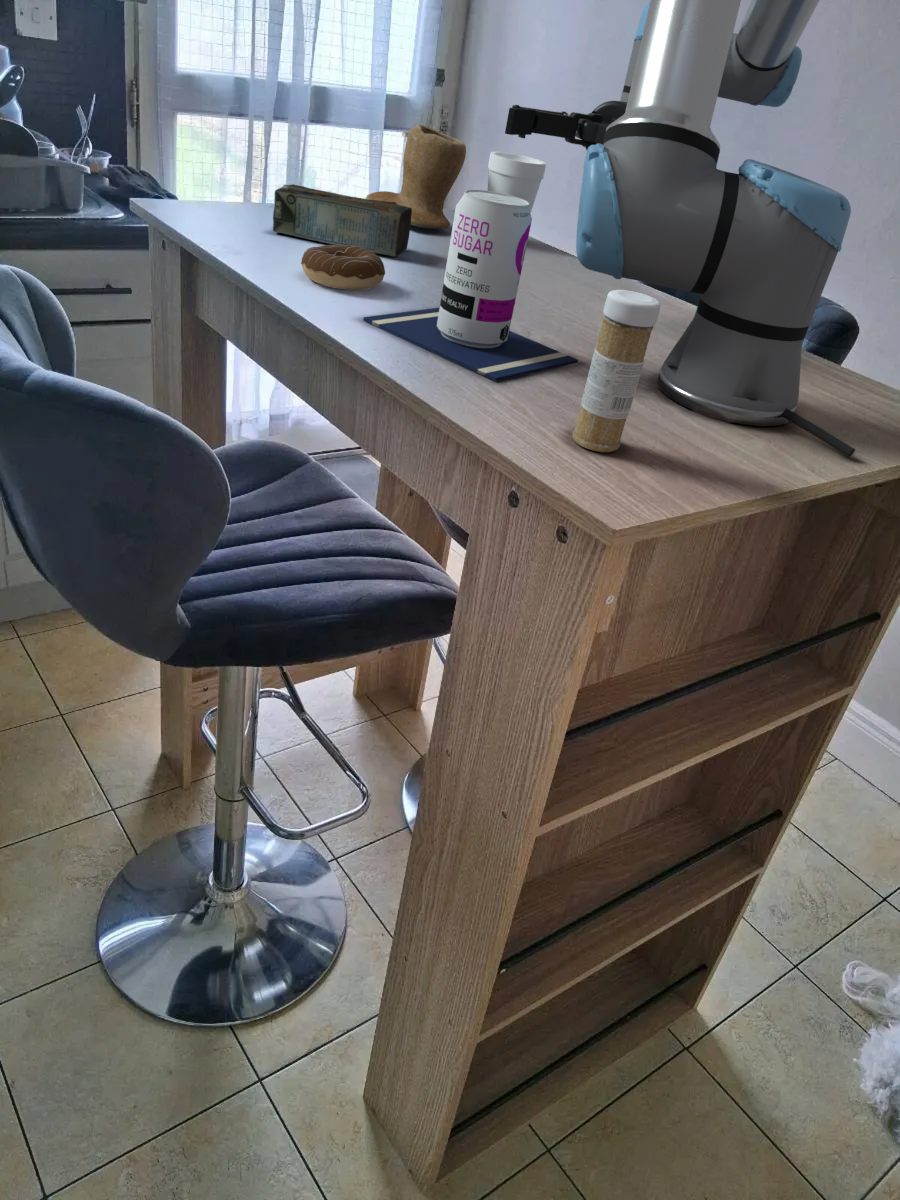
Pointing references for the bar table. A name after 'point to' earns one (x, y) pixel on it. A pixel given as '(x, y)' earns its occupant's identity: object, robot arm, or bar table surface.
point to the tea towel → (489, 362)
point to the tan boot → (427, 176)
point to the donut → (343, 267)
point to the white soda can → (483, 268)
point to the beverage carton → (342, 219)
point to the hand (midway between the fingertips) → (563, 133)
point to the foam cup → (515, 175)
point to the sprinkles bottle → (615, 369)
